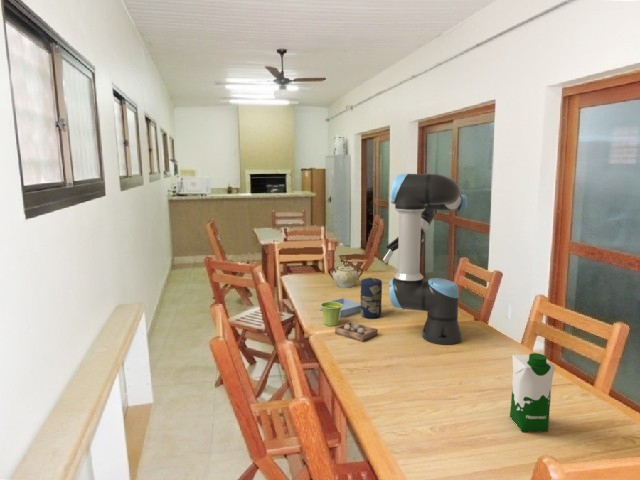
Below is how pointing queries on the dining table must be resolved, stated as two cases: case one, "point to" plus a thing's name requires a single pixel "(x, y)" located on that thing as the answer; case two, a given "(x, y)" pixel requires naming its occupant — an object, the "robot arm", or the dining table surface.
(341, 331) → the pebble tray
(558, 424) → the dining table surface
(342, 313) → the slate dish
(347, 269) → the sugar bowl
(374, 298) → the canister
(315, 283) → the dining table surface
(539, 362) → the milk carton
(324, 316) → the plant pot
